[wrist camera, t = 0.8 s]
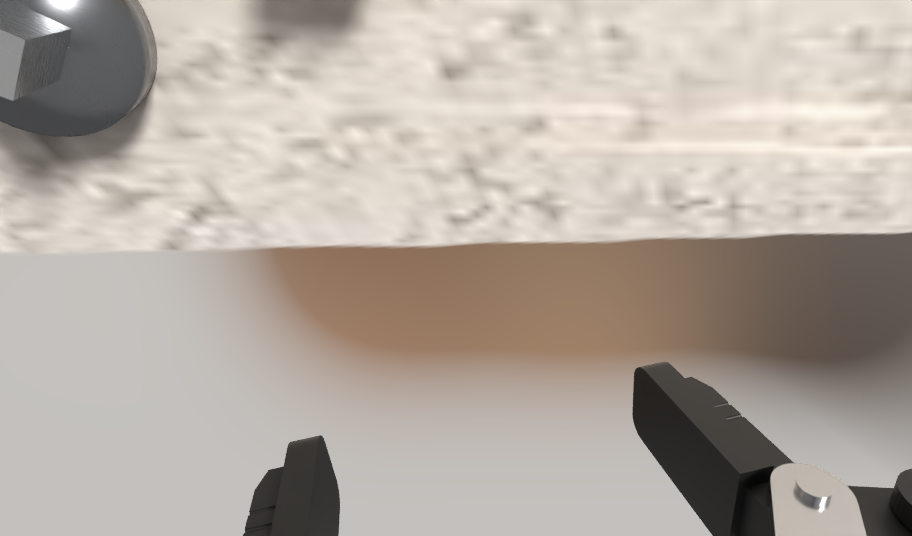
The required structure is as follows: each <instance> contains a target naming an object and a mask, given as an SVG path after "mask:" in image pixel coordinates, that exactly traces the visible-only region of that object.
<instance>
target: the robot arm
mask: <svg viewBox="0 0 912 536" xmlns="http://www.w3.org/2000/svg"><path fill="white" fill-rule="evenodd" d="M633 421H634V425H635V428H636V430H637V433H638V435H639V436H640V438H641V439H642V441H643V442H644V444H645V445H646V446H647V448H648V449H649V450H650V452H651V453H652V454H653V456H654V457H655V458H656V460H657V461H658V462H659V464H660V465H661V466H662V468H663V469H664V471H665V472H666V473H667V475H668V476H669V477H670V478H671V480H672V481H673V483H674V484H675V485H676V487H677V488H678V489H679V491H680V492H681V493H682V494H683V496H684V497H685V499H686V500H687V501H688V503H689V504H690V506H691V507H692V508H693V510H694V511H695V512H696V514H697V515H698V516H699V518H700V519H701V520H702V522H703V523H704V524H705V526H706V527H707V528H708V530H709V531H710V532H711V534H712V535H713V536H912V469H909V470H906V471H904V472H902V473H900V475H899V476H898V478H897V481H896V484H895V486H894V488H876V487H857V486H856V487H855V486H847V485H845V484H844V483H843V482H842V481H841V480H839V479H838V478H836V477H835V476H833V475H832V474H830V473H828V472H826V471H824V470H822V469H819V468H816V467H813V466H810V465H805V464H797V463H793V462H792V461H791V460H790V459H789V458H788V457H787V456H786V455H784V453H783V452H781V451H780V450H779V449H778V448H777V447H776V446H775V445H774V444H773V443H772V442H771V441H769V440H768V439H767V438H766V437H765V436H764V435H763V434H762V433H761V432H760V431H759V430H758V429H757V428H755V427H754V426H753V425H752V424H751V423H750V422H749V421H748V420H747V419H746V418H744V417H742V416H741V414H740V413H739V412H738V411H737V410H736V409H735V408H734V407H733V406H732V405H729V404H728V402H727V401H726V400H725V399H724V398H723V397H722V396H721V395H720V394H719V393H717V391H715V390H714V389H713V388H712V387H710V386H708V385H706V384H704V383H702V382H700V381H698V380H697V379H694V378H693V377H689V378H684V377H683V376H682V375H681V374H680V373H679V372H678V371H677V370H676V369H675V368H674V367H673V366H672V365H670V364H669V363H667V362H661V363H656V364H652V365H647V366H643V367H639V368H637V369H636V370H635V373H634V392H633ZM249 512H250V515H249V516H248V519H247V523H246V527H245V534H243V536H338V533H339V514H340V498H339V490H338V484H337V480H336V476H335V474H334V470H333V467H332V463H331V460H330V457H329V454H328V451H327V447H326V444H325V441H324V438H323V437H322V436H316V437H312V438H307V439H302V440H298V441H293V442H290V443H289V445H288V448H287V453H286V458H285V463H284V467H280V468H276V469H271V470H268V472H267V473H266V475H265V476H264V478H263V479H262V481H261V482H260V484H259V485H258V486H257V488H256V489H255V492H254V495H253V500H252V503H251V507H250V511H249Z"/></svg>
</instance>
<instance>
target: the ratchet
mask: <svg viewBox="0 0 912 536" xmlns="http://www.w3.org/2000/svg"><path fill="white" fill-rule="evenodd" d="M156 68H157V50H156V43H155V38H154V34H153V31H152V28H151V25H150V22H149V20H148V18H147V16H146V14H145V12H144V10H143V8H142V6H141V5H140V3H139V1H138V0H0V121H1V122H4V123H6V124H8V125H11V126H13V127H16V128H19V129H22V130H26V131H29V132H33V133H38V134H43V135H50V136H80V135H86V134H90V133H95V132H98V131H100V130H103V129H105V128H107V127H109V126H111V125H113V124H114V123H116V122H117V121H119V120H120V119H121V118H122V117H124V116H125V115H126V114H128V113H129V112H130V111H131V110H133V109H134V108H135V107H136V106H137V105H139V104H140V102H141V101H142V100H143V99H144V98H145V97H146V95H147V93H148V92H149V90H150V88H151V86H152V83H153V81H154V78H155V73H156Z"/></svg>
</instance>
